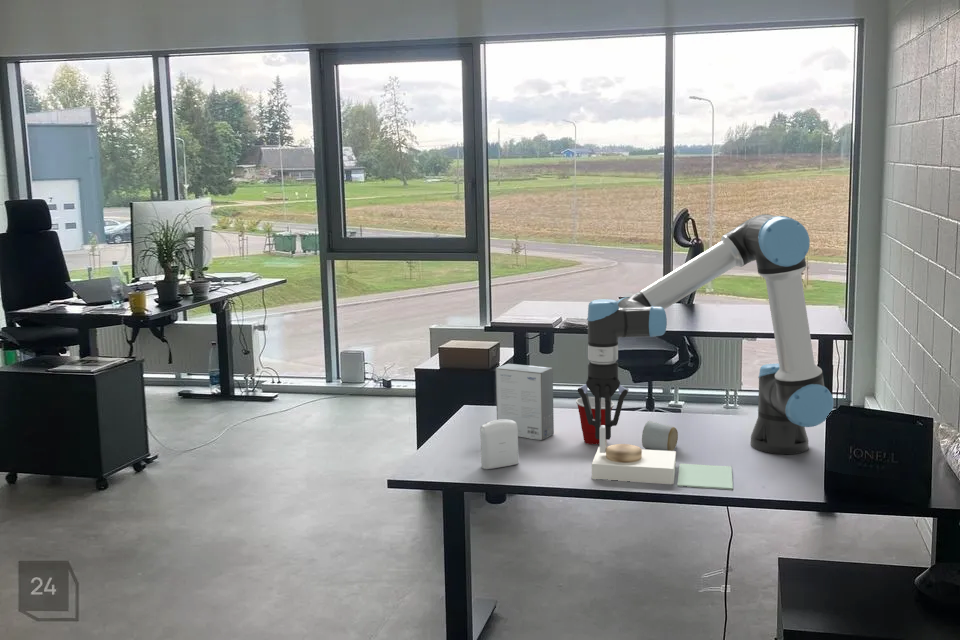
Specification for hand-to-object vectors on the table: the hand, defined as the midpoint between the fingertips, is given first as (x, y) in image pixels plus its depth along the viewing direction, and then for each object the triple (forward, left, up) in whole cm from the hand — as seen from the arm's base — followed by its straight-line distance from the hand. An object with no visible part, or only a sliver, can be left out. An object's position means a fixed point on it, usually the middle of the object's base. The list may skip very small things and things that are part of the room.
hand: (603, 451), depth 234 cm
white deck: (-8, 0, -5) cm, 10 cm away
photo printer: (+27, +1, -5) cm, 28 cm away
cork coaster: (-5, 0, -1) cm, 5 cm away
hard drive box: (+26, -28, -5) cm, 39 cm away
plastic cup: (+5, -24, -5) cm, 25 cm away
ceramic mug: (-13, -21, -6) cm, 26 cm away
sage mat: (-25, 0, -5) cm, 26 cm away
